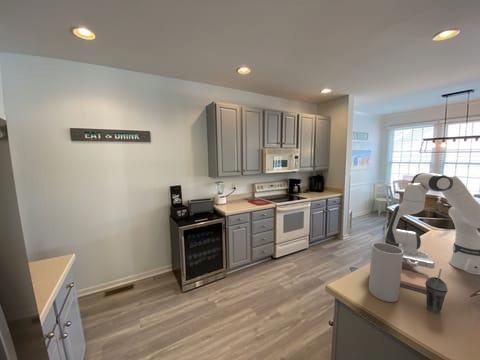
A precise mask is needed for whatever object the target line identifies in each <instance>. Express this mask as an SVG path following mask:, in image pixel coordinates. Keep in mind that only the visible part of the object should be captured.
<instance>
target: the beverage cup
mask: <svg viewBox="0 0 480 360" xmlns="http://www.w3.org/2000/svg"><path fill="white" fill-rule="evenodd" d="M441 273H442V268H439V271H438V276H437V277H435V276H432V277H429V278H428V279H427V281H426V283H425V284H426V294H425V295H426V296H425V297H426V298H425V299H426V300H425V301H426V302H425V303H426V309H427V310H428V311H430V312H431V313H433V314H436V315H437V314H438V315H439V314H441V311H442V308H443V306H444V301H445V298H446V295H447V294H448V286H447V284H446V282H445V281H443V279H441Z"/></svg>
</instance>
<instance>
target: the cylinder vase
mask: <svg viewBox="0 0 480 360" xmlns="http://www.w3.org/2000/svg"><path fill="white" fill-rule="evenodd" d="M370 256H371V257H370V268H369V281H368V291H369V293H370V294H371V295H372V296H373V297H375V298H376V299H379V300H381V301H384V302H387V303H396V302H397V301H398V300H399V297H400V279H401V269H402V268H403V262H402V260H403V250H402V249H400V248H399V246H395V245H394V244H393V245H392V244H391V243H390V244H389V243H384V242H373V243H372V244H371V255H370Z"/></svg>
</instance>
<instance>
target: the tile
mask: <svg viewBox="0 0 480 360" xmlns="http://www.w3.org/2000/svg"><path fill="white" fill-rule="evenodd" d="M428 278H430V277H429V275H428V274H422V273H419V272H415V271H411V270H407V269H401V279H400V284H403V285H407V286H411V287H414V288H418V289H421V290H425V291H426V284H425V283H426V281H427V279H428Z"/></svg>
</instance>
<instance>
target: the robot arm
mask: <svg viewBox="0 0 480 360" xmlns="http://www.w3.org/2000/svg"><path fill="white" fill-rule="evenodd" d="M429 191H432V192H440V193H442V195H443V197H444V198H445V199H446V201H447V202H448V204H449V205H450V206H451V207H449V209H448V211H447V212H448V216H449V217H450V218H451V220H452V222H453V224H454V230H455V237H454V242H453V245H452V254H451V257H450V259H449V260H448V264H449V265H451V266H452V267H454V268H457V269H459V270H461V271H463V272H466V273H467V274H471V275H477V276H480V232H479V230H478V229H480V202H478V201H477V200H476V199H475V197H474V196H473V195H472V193H471V192H470V191H469V190H468V187H467V186H466V185H465V183H464V182H463V181H462V180H461V179H460V178H459V177H458V176H456V175H454V174H446V175H445V174H441V173H439V174H438V173H436V172H435V173H434V172H431V173H429V172H427V173H426V172H421V173H417V174H415V175H414V176H413V178H412V180H411V183H408V184H406V186H405V189H404V191H403V195H402V201H401V203H400V204H399V205H397V206H395V208H394V210H393V211H392V214H391V218H390V220H389V223H388V226H387V228H386V230H385V232H384V239H386V241H388V242H389V243H390V244H398V248H400V249H402V250H403V260H402V263H404V264H408V265H409V266H410V267H414V268H417V266H418V267H422V268H423V267H424V268H426V269H432V270H433V269H435V265H436V264H435V262H434V260H433V259H432V258H431V257H430V256H429V254H427V253H425V252H421V251H420V250H419V249H420V247H421V244H422V243H421V242H422V240H421V237H420V235H419V234H418V233H417V232H416V231H412V230H405V229H399V228H397V226H398V223H399V221H400V218H402V217H404V216H408V215H414V214H418V213H420V212H422V211H423V210H424V208H425V204H426V196H427V193H428V192H429ZM418 250H419V251H418Z"/></svg>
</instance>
